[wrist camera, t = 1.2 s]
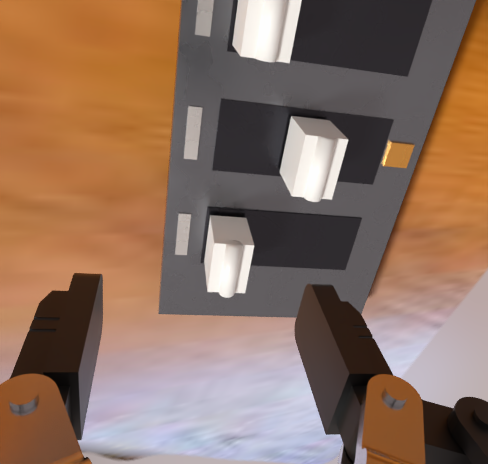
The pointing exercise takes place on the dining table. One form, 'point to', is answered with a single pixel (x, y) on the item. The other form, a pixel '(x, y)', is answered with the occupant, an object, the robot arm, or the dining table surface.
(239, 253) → the breaker
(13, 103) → the dining table surface
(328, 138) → the breaker
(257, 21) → the breaker
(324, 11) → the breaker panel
